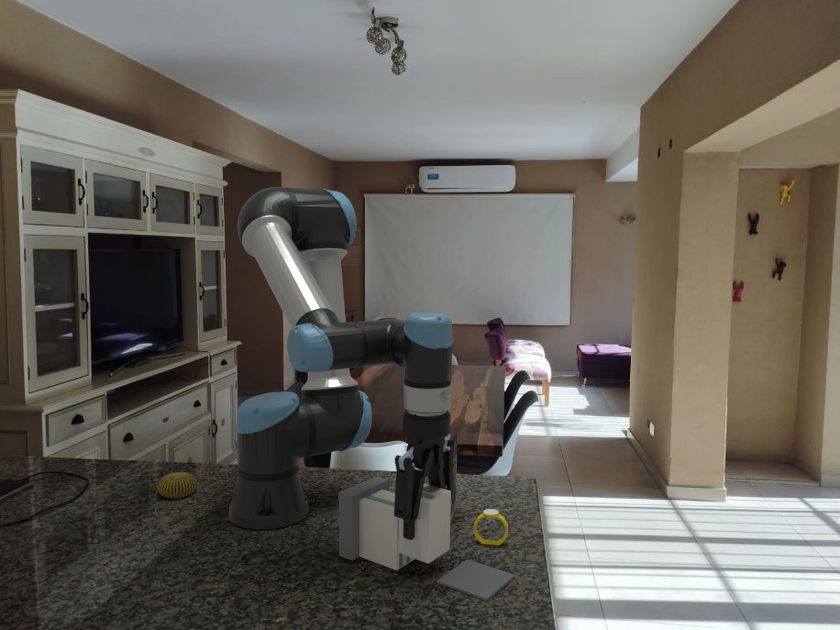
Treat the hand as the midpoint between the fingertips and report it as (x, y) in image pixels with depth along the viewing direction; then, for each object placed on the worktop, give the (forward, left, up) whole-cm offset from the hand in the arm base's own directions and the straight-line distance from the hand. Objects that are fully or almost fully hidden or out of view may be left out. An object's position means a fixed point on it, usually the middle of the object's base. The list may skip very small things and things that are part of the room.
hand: (424, 548), depth 108 cm
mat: (+9, +2, -3) cm, 10 cm away
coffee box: (-10, +19, -4) cm, 22 cm away
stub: (0, 0, 0) cm, 0 cm away
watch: (+4, +15, -4) cm, 16 cm away
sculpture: (-61, -4, -4) cm, 61 cm away
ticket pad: (-9, 0, -3) cm, 10 cm away
